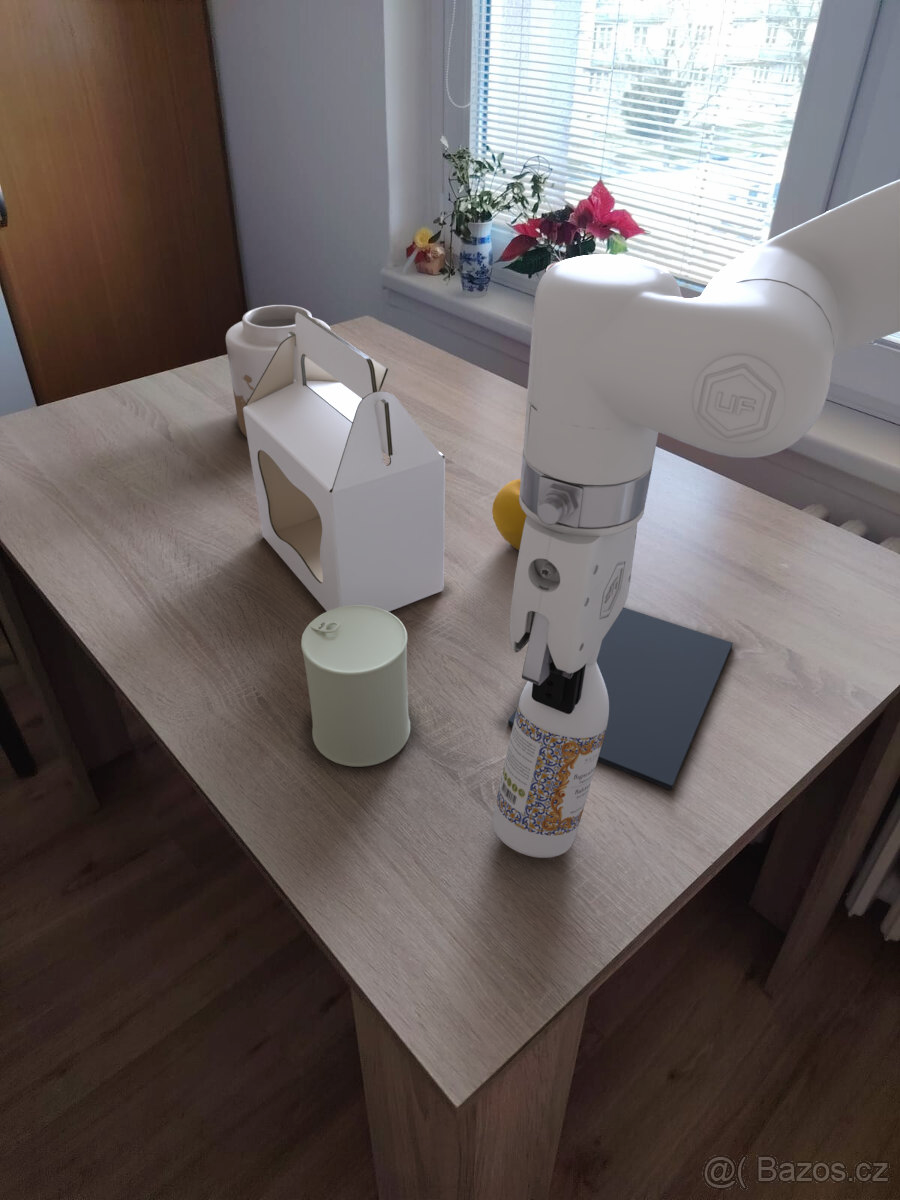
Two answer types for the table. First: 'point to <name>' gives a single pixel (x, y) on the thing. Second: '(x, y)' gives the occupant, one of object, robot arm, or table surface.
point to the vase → (257, 348)
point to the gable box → (344, 475)
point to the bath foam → (550, 769)
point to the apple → (509, 513)
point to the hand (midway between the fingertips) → (555, 700)
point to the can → (357, 684)
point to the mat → (655, 693)
